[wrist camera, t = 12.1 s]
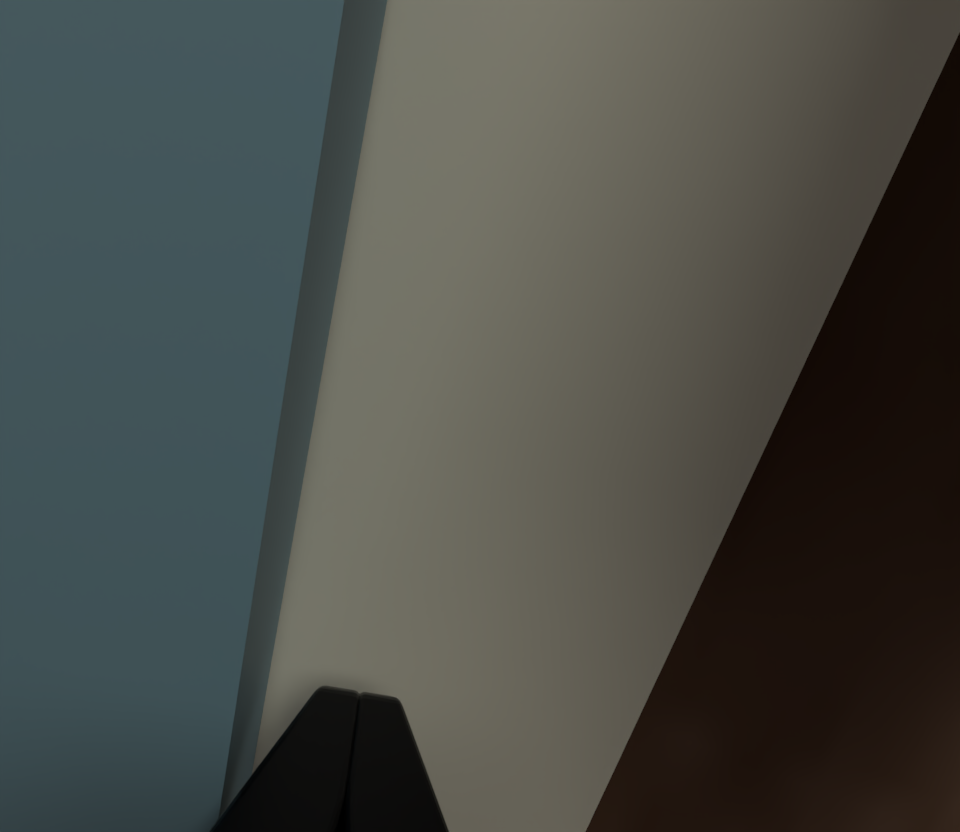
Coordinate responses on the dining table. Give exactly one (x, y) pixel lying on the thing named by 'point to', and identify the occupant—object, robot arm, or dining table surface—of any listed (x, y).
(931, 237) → the dining table surface
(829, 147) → the vise bed
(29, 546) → the vise free jaw
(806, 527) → the dining table surface
